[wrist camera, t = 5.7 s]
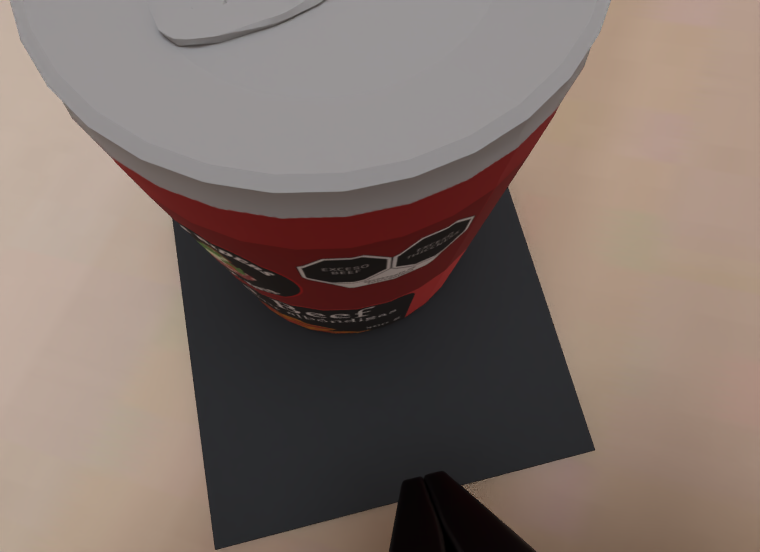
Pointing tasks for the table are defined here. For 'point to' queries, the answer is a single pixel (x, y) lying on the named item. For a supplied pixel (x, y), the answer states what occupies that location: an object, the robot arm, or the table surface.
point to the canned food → (318, 128)
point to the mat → (374, 390)
